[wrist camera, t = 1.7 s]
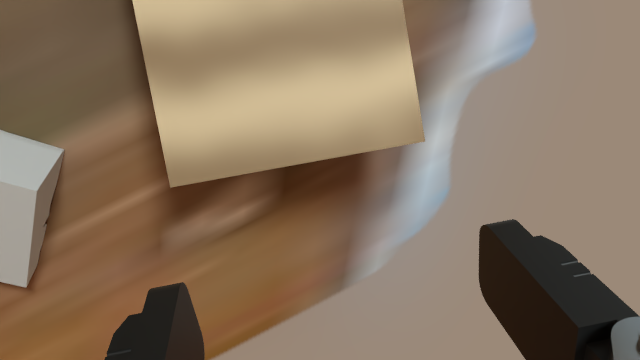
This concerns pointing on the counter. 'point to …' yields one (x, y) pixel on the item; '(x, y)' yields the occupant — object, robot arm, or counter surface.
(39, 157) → the decorative molding
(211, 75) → the oak plank
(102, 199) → the counter surface
